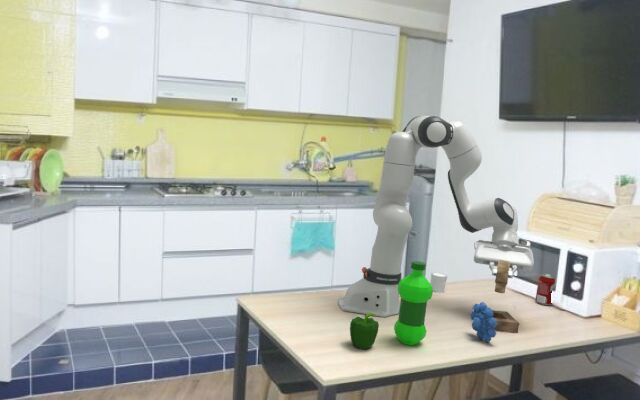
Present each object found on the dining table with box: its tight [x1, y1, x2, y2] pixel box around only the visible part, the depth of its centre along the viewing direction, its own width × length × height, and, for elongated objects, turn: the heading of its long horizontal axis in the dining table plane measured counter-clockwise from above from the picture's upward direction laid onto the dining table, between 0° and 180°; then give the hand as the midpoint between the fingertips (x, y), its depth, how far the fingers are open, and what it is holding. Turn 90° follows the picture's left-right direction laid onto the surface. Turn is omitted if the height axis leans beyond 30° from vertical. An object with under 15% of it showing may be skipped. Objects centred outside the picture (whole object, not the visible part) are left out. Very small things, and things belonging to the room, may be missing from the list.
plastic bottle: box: [393, 260, 434, 346], centre depth 167 cm, size 10×10×25 cm
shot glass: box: [430, 272, 448, 293], centre depth 230 cm, size 7×7×7 cm
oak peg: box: [494, 260, 511, 294], centre depth 191 cm, size 4×4×11 cm
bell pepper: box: [349, 313, 380, 350], centre depth 161 cm, size 8×8×10 cm
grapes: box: [470, 301, 497, 343], centre depth 177 cm, size 12×7×12 cm, turn 25°
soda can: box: [535, 273, 556, 307], centre depth 227 cm, size 7×7×12 cm
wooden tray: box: [492, 309, 520, 334], centre depth 193 cm, size 12×12×4 cm
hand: (502, 276), depth 191 cm, fingers closed on oak peg, 4 cm apart
